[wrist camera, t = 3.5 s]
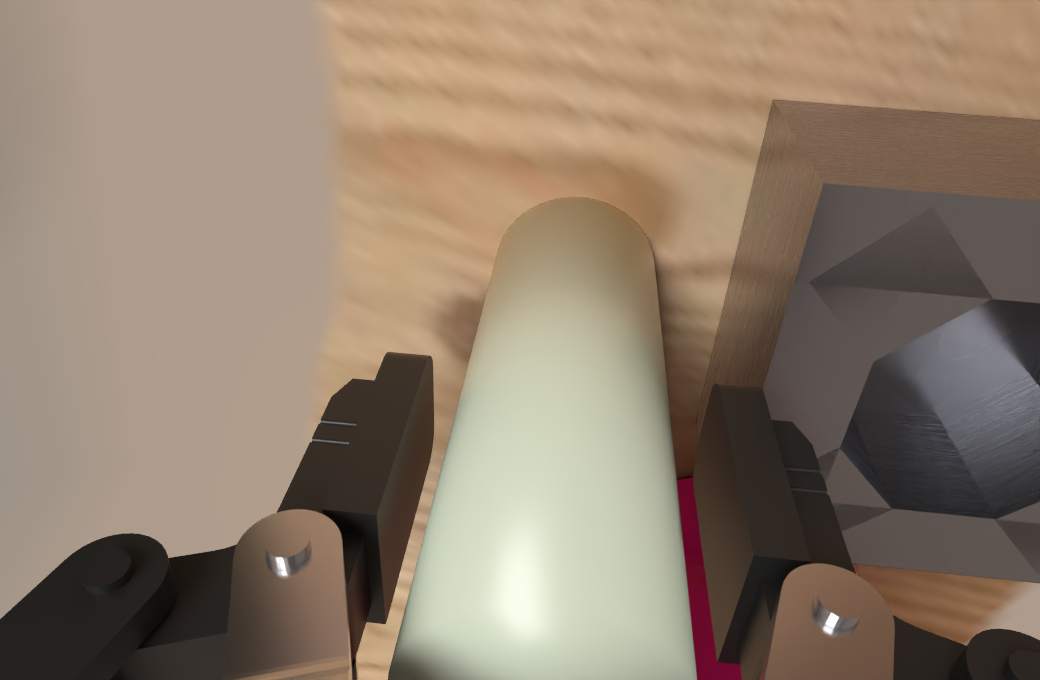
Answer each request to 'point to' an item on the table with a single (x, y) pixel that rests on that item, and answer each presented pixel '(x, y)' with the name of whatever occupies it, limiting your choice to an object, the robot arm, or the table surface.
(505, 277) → the candle
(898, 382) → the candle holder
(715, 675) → the pepper mill
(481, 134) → the table surface
